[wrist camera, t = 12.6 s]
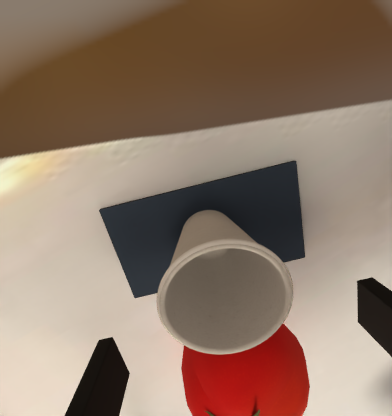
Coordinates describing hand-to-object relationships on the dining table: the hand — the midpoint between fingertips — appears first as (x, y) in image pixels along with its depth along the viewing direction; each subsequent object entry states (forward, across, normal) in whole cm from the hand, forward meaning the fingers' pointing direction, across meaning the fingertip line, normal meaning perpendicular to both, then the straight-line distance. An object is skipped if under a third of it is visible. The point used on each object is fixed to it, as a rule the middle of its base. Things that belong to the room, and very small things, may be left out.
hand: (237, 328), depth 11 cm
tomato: (+12, 0, +13) cm, 18 cm away
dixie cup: (+12, 0, 0) cm, 12 cm away
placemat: (+12, 0, 0) cm, 12 cm away
